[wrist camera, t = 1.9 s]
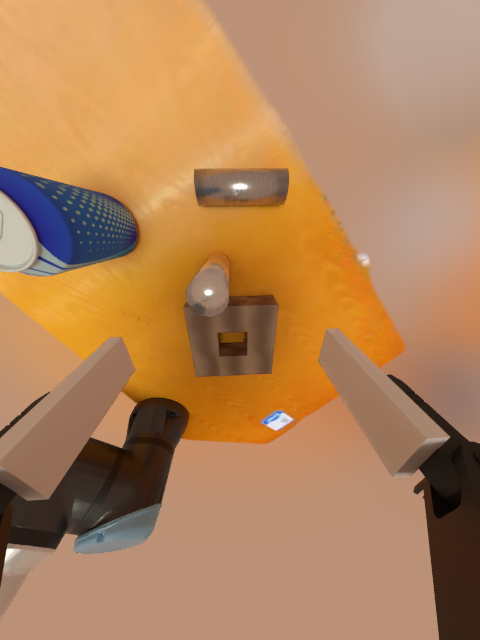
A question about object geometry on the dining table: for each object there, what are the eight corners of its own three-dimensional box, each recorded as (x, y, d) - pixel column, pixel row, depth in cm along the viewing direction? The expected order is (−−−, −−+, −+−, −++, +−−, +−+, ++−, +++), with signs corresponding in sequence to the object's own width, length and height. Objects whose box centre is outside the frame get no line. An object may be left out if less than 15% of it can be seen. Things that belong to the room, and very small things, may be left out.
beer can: (151, 246, 29) (73, 266, 14) (106, 262, 29) (-9, 295, 15) (120, 185, 25) (-28, 130, 11) (69, 205, 25) (-131, 179, 11)
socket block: (199, 362, 41) (196, 376, 37) (189, 297, 33) (183, 307, 29) (267, 359, 41) (271, 373, 37) (272, 295, 34) (278, 304, 30)
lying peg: (201, 203, 27) (198, 208, 24) (197, 168, 24) (192, 169, 21) (279, 202, 27) (285, 207, 24) (283, 167, 24) (291, 169, 21)
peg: (208, 276, 31) (189, 317, 17) (205, 252, 29) (182, 276, 15) (230, 275, 31) (229, 315, 17) (229, 252, 29) (227, 275, 15)
